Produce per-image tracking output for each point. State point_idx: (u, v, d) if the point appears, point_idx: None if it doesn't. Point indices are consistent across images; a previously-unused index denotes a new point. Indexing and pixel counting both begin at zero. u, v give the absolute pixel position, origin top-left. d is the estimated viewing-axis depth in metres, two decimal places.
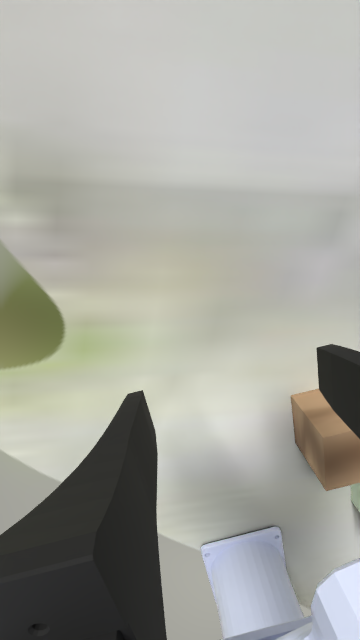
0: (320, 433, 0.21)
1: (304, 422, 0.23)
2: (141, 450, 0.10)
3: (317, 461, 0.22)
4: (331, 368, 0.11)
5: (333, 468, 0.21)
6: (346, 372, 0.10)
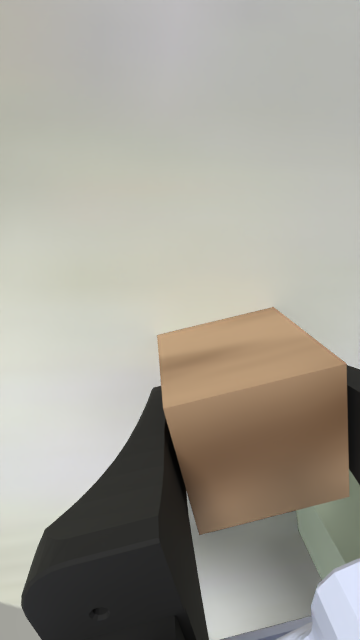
0: (164, 399, 0.08)
1: None
2: None
3: None
4: None
5: (206, 485, 0.09)
6: None
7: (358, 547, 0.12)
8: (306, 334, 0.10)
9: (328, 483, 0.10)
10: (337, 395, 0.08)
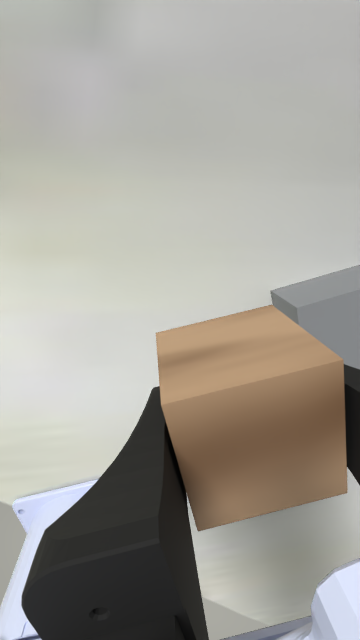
0: (162, 395, 0.08)
1: None
2: None
3: None
4: None
5: (205, 481, 0.09)
6: None
7: None
8: (304, 331, 0.10)
9: (326, 479, 0.10)
10: (334, 391, 0.08)
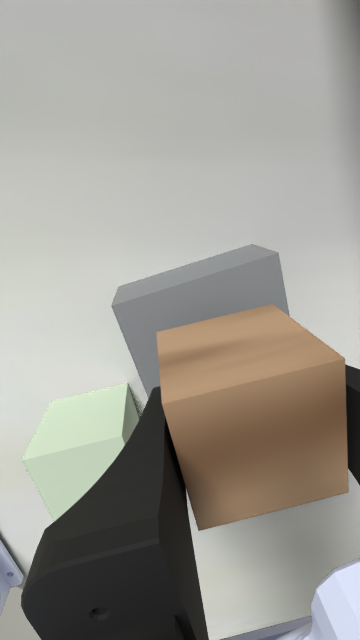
0: (163, 394, 0.08)
1: None
2: None
3: None
4: None
5: (206, 480, 0.09)
6: None
7: (41, 447, 0.15)
8: (305, 330, 0.10)
9: (327, 478, 0.10)
10: (336, 390, 0.08)
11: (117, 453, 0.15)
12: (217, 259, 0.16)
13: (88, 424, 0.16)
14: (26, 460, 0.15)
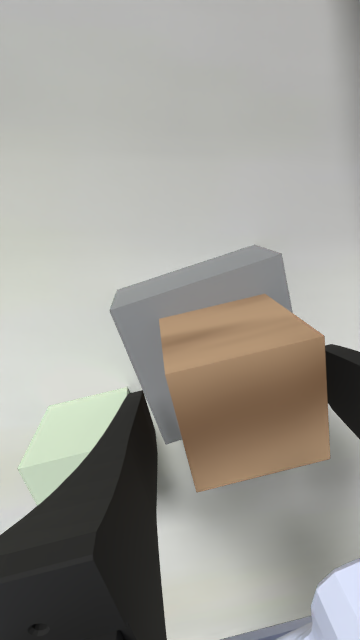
0: (166, 367, 0.10)
1: None
2: (141, 450, 0.10)
3: None
4: (331, 368, 0.11)
5: (203, 445, 0.10)
6: (346, 372, 0.10)
7: (38, 455, 0.15)
8: (292, 314, 0.11)
9: (311, 446, 0.11)
10: (317, 364, 0.10)
11: None
12: (218, 260, 0.16)
13: (87, 431, 0.16)
14: (22, 469, 0.14)
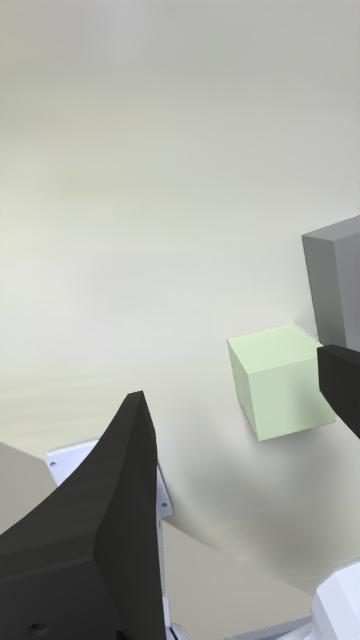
0: None
1: None
2: (141, 450, 0.10)
3: None
4: (331, 368, 0.11)
5: None
6: (346, 372, 0.10)
7: (257, 365, 0.18)
8: None
9: None
10: None
11: None
12: None
13: (288, 349, 0.19)
14: (251, 374, 0.17)
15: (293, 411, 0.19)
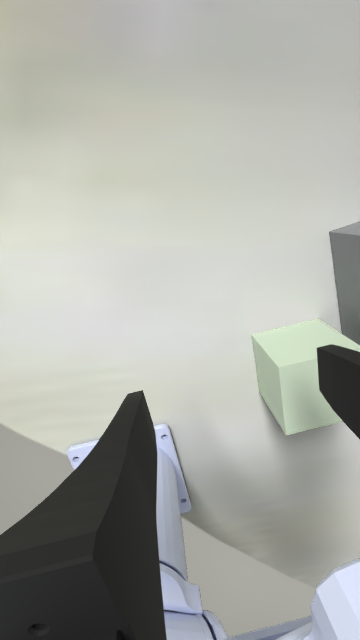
0: None
1: None
2: (141, 450, 0.10)
3: None
4: (331, 368, 0.11)
5: None
6: (346, 372, 0.10)
7: (287, 359, 0.18)
8: None
9: None
10: None
11: None
12: None
13: (316, 343, 0.19)
14: (282, 367, 0.17)
15: (321, 405, 0.19)
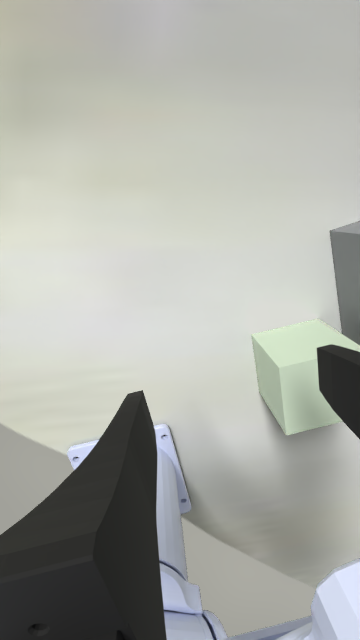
0: None
1: None
2: (141, 450, 0.10)
3: None
4: (331, 368, 0.11)
5: None
6: (346, 372, 0.10)
7: (287, 359, 0.18)
8: None
9: None
10: None
11: None
12: None
13: (316, 344, 0.19)
14: (282, 367, 0.17)
15: (321, 405, 0.19)
